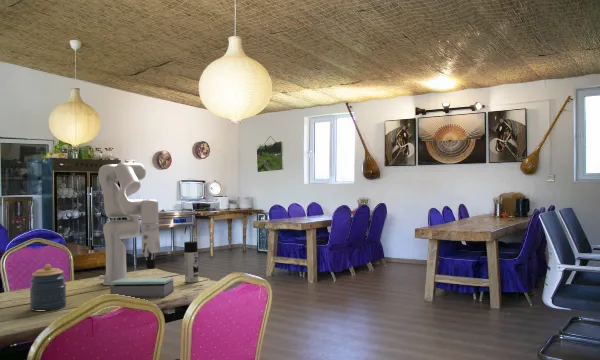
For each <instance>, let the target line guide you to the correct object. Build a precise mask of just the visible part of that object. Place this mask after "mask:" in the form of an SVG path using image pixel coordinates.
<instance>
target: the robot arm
mask: <svg viewBox="0 0 600 360" xmlns="http://www.w3.org/2000/svg"><path fill="white" fill-rule="evenodd" d="M97 174H98V181H99V184H100V187H101V190H102V193H103V196H102V197H103V205H104V212H105V216H106V217H107V218H110V219H114V220H109V221H107V222H105V223H104V225H103V227H102V228H103V230H102V231H103V235H104V236H103V237H104V243H105V274H104V275H103V274H102V275H101V274H100V275H99V276H98V279H99V280H103V281H102V284H103V285H104V286H112V285H114V284H111V285H110V282H112V281H116V280H119V279H126V278H127V248H126V247H127V246H126V245H125V244H124V242H123V241H122V240H123V239H124V240H125V239H133V238H137V237H138V236H139V234H140V232H141V252H142V253H143V254H144V255H143V256H144V257H145V260H146V269H147V270H153V269H156V255H157V253H158V252H159V251H161V240H160V232H159V230H160V227H159V226H160V225H159V220H160V219H159V202H158V200H157V199H148V198H147V199H145V198H139V199H132V198H128V197H129V196H132V195H133V194H136V193H137V192H138V191H139V190H140V189H141V185H142V184H141V180H143V179H145V177H146V174H147V172H146V168H145V165H143V164H142V163H140V162H121V163H116V164H115V163H110V164H109V163H108V164H104V165H102V166H100V167H99V169H98V173H97ZM116 182H118V183H119V184H120V186H119V185H118V183H116ZM120 187H121V188H120ZM139 216H140V217H139ZM117 218H126V219H117ZM115 219H116V220H115Z"/></svg>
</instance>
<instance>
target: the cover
mask: <svg viewBox="0 0 600 360" xmlns="http://www.w3.org/2000/svg"><path fill="white" fill-rule="evenodd" d="M172 280H173V281H174V277H149V278H148V277H145V278H144V277H142V278H141V277H139V278H136V277H135V278H134V277H133V278H132V277H130V278H127V277H126V279H119V280H116V281H112V282H110V285H109V286H112V285H111V284H165V283H168V282H170V281H172Z"/></svg>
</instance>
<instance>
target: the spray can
mask: <svg viewBox="0 0 600 360" xmlns="http://www.w3.org/2000/svg"><path fill="white" fill-rule="evenodd" d="M183 244H184V246H183V249H184V250H183V252H184V253H183V254H184V279H185V280H184V281H185V283H187V282H188V283H189V284H190V283H192V284H193V283H198V282H199V278H200V276H199V251H198V250H199V249H198V245H199V244H198V241H193V240H191V241H184V242H183Z"/></svg>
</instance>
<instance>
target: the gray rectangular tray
mask: <svg viewBox="0 0 600 360" xmlns="http://www.w3.org/2000/svg"><path fill="white" fill-rule="evenodd" d="M109 289H110V290H109V295H110V294H119V295H125V296H131V297H137V298H136V299H138V298H140V299H142V298H144V299H146V297H147V298H148V299H150V298H149V297H157V299H158V297H160V298H163V299H164V298H167V297H168V296H169V295H170V294H172V293H173V292H174V279H173V280H172V281H170V282H168V283H165V284H114V285H109ZM160 298H159V299H160Z"/></svg>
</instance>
